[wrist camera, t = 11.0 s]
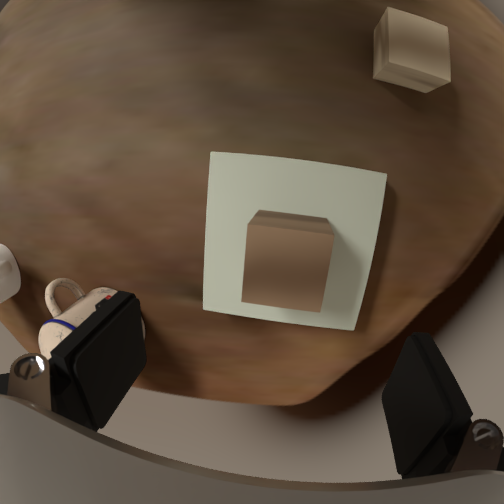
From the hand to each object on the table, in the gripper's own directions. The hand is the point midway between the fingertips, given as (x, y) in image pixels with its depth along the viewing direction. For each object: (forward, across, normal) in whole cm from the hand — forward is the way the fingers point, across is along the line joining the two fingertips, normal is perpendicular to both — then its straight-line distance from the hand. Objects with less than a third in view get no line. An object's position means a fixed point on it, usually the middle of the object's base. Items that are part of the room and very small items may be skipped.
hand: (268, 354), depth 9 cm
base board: (+16, 0, +1) cm, 17 cm away
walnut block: (+14, 0, 0) cm, 14 cm away
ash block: (+17, -8, -16) cm, 25 cm away
